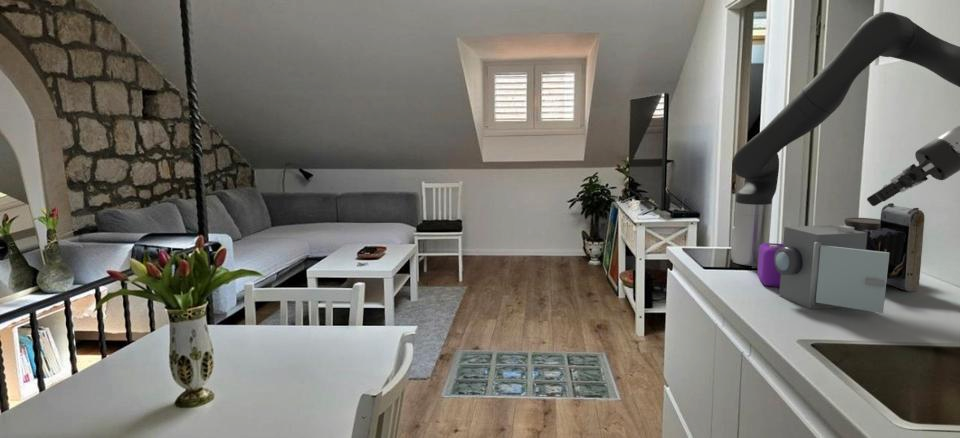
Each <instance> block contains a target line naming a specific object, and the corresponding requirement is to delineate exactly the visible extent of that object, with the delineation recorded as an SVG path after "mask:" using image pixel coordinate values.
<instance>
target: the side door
mask: <svg viewBox="0 0 960 438" xmlns="http://www.w3.org/2000/svg"><path fill="white" fill-rule="evenodd" d="M820 247H821V248H820ZM888 262H889V252H880V251H871V250H861V249H852V248H843V247H834V246H825V245H821V243H820V242H814V251H813V262H812V273H811V285H810V296H809V304H815V303H816V302H817V303H823V304H829V305H835V306H841V307H840V308H848V309H855V310H860V311H866V312H873V313H878V314H883V313H884V307H885V306H884V305H885V297H886V291H887V287H886V286H887V284H886V281H887V272H888ZM818 270H819V271H818ZM817 281H818V282H817ZM816 292H817V293H816Z"/></svg>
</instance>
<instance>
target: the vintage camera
mask: <svg viewBox="0 0 960 438" xmlns="http://www.w3.org/2000/svg"><path fill="white" fill-rule="evenodd" d="M924 230H925V214H924V212H923V210H921V209H920V208H919V207H912V208H910V207H904V206H899V205H898V206H897V205H895V204H894V203H893V202H892V203H888V204H886V205H884V206H883V207H882V208H881V211H880V229H878V230H875V231H871V232H870V231H869V230H863V231H861V232H866V233H867V243H866V250H871V251H880V252H889V262H888V272H887V281H886V285H888V286H891V287H894V288H898V289H900V290H902V289H903V291H906V292H909V293H910V292H911V293H912V292H916V291H917V290H918V289H919V287H920V278H921V267H922V255H923V245H924V244H923V241H924Z"/></svg>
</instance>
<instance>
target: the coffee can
mask: <svg viewBox="0 0 960 438" xmlns="http://www.w3.org/2000/svg"><path fill="white" fill-rule="evenodd" d="M844 226H850V227H854V230H856V231H863V230H869V231H870V232H871V231H875V230H878V229H880V219H879V218H870V217H845V218H844Z"/></svg>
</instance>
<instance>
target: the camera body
mask: <svg viewBox="0 0 960 438" xmlns="http://www.w3.org/2000/svg"><path fill="white" fill-rule="evenodd" d="M783 230H784V232H783V241H782V244H783V248H779V249H778V250H777V251H776V253H775V256H774V264H775V267H776V269H777V271H778V272H779V273H780V274H781V278H780V287H779V293H778V296H779V297H781V298H783V299H785V300H788V301H790V302H792V303H796V304H797V305H800V306H803V307H806V308H808V309H810V310H813V309H814V310H818V309H819V310H820V309H833V308H842V307H841V306H835V305H829V304H823V303H817V302H816V303H815V304H809V296H810V285H811V273H812V262H813V251H814V242H820V243H821V245H825V246H834V247H843V248H852V249H861V250H866V243H867V233H866V232H861V231H856V230H854V227H850V226H845V225H838V226H837V225H834V224H833V225H832V224H830V225H829V224H828V225H827V224H826V225H803V226H799V225H798V226H784V229H783ZM820 248H821V247H820ZM818 271H819V270H818ZM817 282H818V281H817ZM816 293H817V292H816Z"/></svg>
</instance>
